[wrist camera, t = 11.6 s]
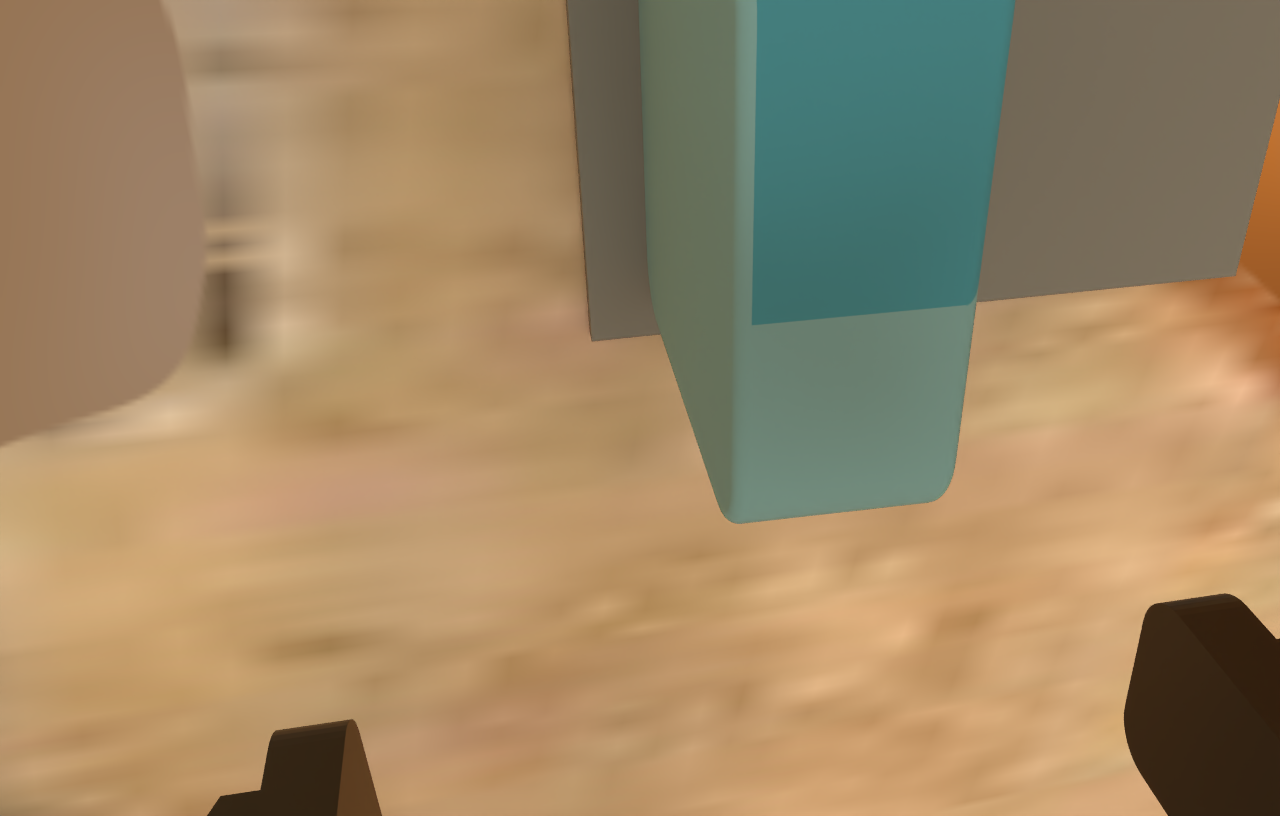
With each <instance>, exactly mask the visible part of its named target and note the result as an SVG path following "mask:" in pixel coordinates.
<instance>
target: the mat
mask: <svg viewBox="0 0 1280 816" xmlns="http://www.w3.org/2000/svg"><path fill="white" fill-rule="evenodd" d="M566 9H567V22H568V36H569V50H570V64H571V78H572V92H573V105H574V119H575V133H576V147H577V161H578V174H579V188H580V202H581V216H582V230H583V243H584V257H585V271H586V285H587V299H588V313H589V326H590V335H591V339H592V341H600V340H610V339H620V338H630V337H640V336H650V335H659V334H661V333H660V330H659V327H658V324H657V321H656V318H655V314H654V310H653V305H652V299H651V292H650V285H649V275H648V263H647V241H646V211H645V181H644V152H643V122H642V92H641V63H640V33H639V4H638V0H566ZM1279 99H1280V0H1015V9H1014V17H1013V25H1012V32H1011V40H1010V48H1009V55H1008V63H1007V71H1006V79H1005V86H1004V94H1003V102H1002V109H1001V117H1000V125H999V132H998V140H997V148H996V156H995V163H994V171H993V179H992V186H991V194H990V202H989V209H988V217H987V225H986V232H985V240H984V248H983V256H982V263H981V271H980V279H979V286H978V294H977V302H984V301H994V300H1004V299H1014V298H1024V297H1033V296H1043V295H1053V294H1063V293H1073V292H1083V291H1093V290H1102V289H1112V288H1122V287H1132V286H1142V285H1152V284H1161V283H1171V282H1181V281H1191V280H1201V279H1211V278H1221V277H1230V276H1236V272H1237V268H1238V264H1239V260H1240V256H1241V252H1242V248H1243V244H1244V240H1245V236H1246V232H1247V228H1248V224H1249V220H1250V215H1251V212H1252V207H1253V204H1254V200H1255V196H1256V192H1257V188H1258V184H1259V179H1260V176H1261V172H1262V167H1263V163H1264V159H1265V155H1266V151H1267V147H1268V143H1269V139H1270V135H1271V131H1272V127H1273V123H1274V119H1275V115H1276V111H1277V107H1278V103H1279Z"/></svg>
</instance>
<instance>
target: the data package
mask: <svg viewBox="0 0 1280 816" xmlns="http://www.w3.org/2000/svg"><path fill="white" fill-rule="evenodd" d="M638 4H639V33H640V63H641V92H642V122H643V152H644V181H645V211H646V241H647V263H648V275H649V285H650V292H651V299H652V305H653V310H654V314H655V318H656V321H657V324H658V327H659V330H660V333H661V336H662V339H663V342H664V345H665V348H666V351H667V354H668V357H669V360H670V363H671V366H672V369H673V372H674V375H675V378H676V381H677V384H678V387H679V390H680V392H681V395H682V398H683V401H684V404H685V407H686V410H687V413H688V416H689V419H690V422H691V425H692V428H693V431H694V434H695V437H696V440H697V443H698V446H699V449H700V452H701V455H702V458H703V461H704V464H705V467H706V470H707V473H708V476H709V479H710V482H711V485H712V488H713V491H714V493H715V496H716V499H717V502H718V505H719V507H720V510H721V512H722V513H723V515H724V516H725V517H726V518H727V519H728V520H729V521H731V522H733V523H737V524H742V523H751V522H760V521H768V520H777V519H786V518H795V517H804V516H813V515H822V514H831V513H840V512H849V511H857V510H866V509H875V508H884V507H893V506H902V505H911V504H920V503H928V502H932V501H935V500H937V499H938V498H940V497H941V496H942V495H943V494H944V492H945V491H946V490H947V488H948V486H949V484H950V482H951V479H952V476H953V473H954V468H955V462H956V456H957V448H958V440H959V433H960V425H961V417H962V409H963V402H964V394H965V386H966V379H967V371H968V363H969V356H970V348H971V340H972V333H973V325H974V317H975V309H976V302H977V294H978V286H979V279H980V271H981V263H982V256H983V248H984V240H985V232H986V225H987V217H988V209H989V202H990V194H991V186H992V179H993V171H994V163H995V156H996V148H997V140H998V132H999V125H1000V117H1001V109H1002V102H1003V94H1004V86H1005V79H1006V71H1007V63H1008V55H1009V48H1010V40H1011V32H1012V25H1013V17H1014V9H1015V0H638Z"/></svg>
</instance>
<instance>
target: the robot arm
mask: <svg viewBox="0 0 1280 816" xmlns="http://www.w3.org/2000/svg"><path fill="white" fill-rule="evenodd" d="M1124 727H1125V734H1126V738H1127V743H1128V746H1129V749H1130V752H1131V755H1132V758H1133V760H1134V762H1135V764H1136V766H1137V768H1138V770H1139V772H1140V773H1141V775H1142V777H1143V778H1144V780H1145V781H1146V783H1147V784H1148V786H1149V787H1150V789H1151V790H1152V792H1153V793H1154V795H1155V796H1156V798H1157V800H1158V801H1159V803H1160V804H1161V806H1162V807H1163V809H1164V810H1165V812H1166V813H1167V815H1168V816H1280V639H1276V638H1275V637H1274V636H1273V635H1272V634H1271V633H1270V631H1269V630H1268V629H1267V628H1266V627H1265V626H1264V625H1263V624H1262V623H1261V621H1260V620H1259V619H1258V618H1257V617H1256V616H1255V615H1254V614H1253V613H1252V611H1251V610H1250V609H1249V608H1248V607H1247V606H1246V605H1245V604H1244V603H1243V602H1242V601H1241V600H1240V599H1238V598H1237V597H1235V596H1233V595H1230V594H1218V595H1211V596H1204V597H1198V598H1191V599H1184V600H1177V601H1171V602H1164V603H1157V604H1154V605H1152V606H1151V607H1150V608H1149V609H1148V610H1147V612H1146V614H1145V617H1144V620H1143V625H1142V630H1141V634H1140V639H1139V643H1138V648H1137V653H1136V657H1135V662H1134V667H1133V671H1132V676H1131V681H1130V685H1129V690H1128V694H1127V699H1126V704H1125V710H1124ZM207 816H382V814H381V810H380V807H379V803H378V799H377V796H376V792H375V788H374V784H373V781H372V777H371V773H370V770H369V766H368V762H367V759H366V755H365V751H364V747H363V744H362V740H361V736H360V733H359V730H358V727H357V725H356V723H355V721H354V720H353V719H351V720H344V721H337V722H331V723H324V724H317V725H310V726H303V727H297V728H290V729H283V730H276V731H275V732H274V733H273V735H272V736H271V739H270V743H269V747H268V752H267V758H266V763H265V768H264V774H263V779H262V785H261V790H258V791H251V792H245V793H238V794H232V795H225V796H220V798H219V799H218V800H217V802H216V803H215V805H214V806H213V808H212V809H211V811H210V812H209V814H208V815H207Z"/></svg>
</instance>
